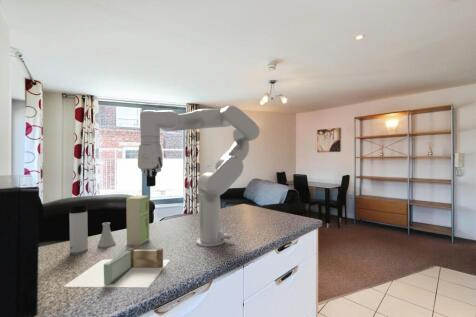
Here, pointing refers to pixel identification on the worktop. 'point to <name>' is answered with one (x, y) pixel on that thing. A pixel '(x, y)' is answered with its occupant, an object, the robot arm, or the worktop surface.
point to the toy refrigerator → (137, 219)
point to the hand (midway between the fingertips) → (151, 186)
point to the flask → (106, 237)
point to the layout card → (127, 279)
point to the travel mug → (78, 229)
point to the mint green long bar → (117, 267)
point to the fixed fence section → (146, 258)
